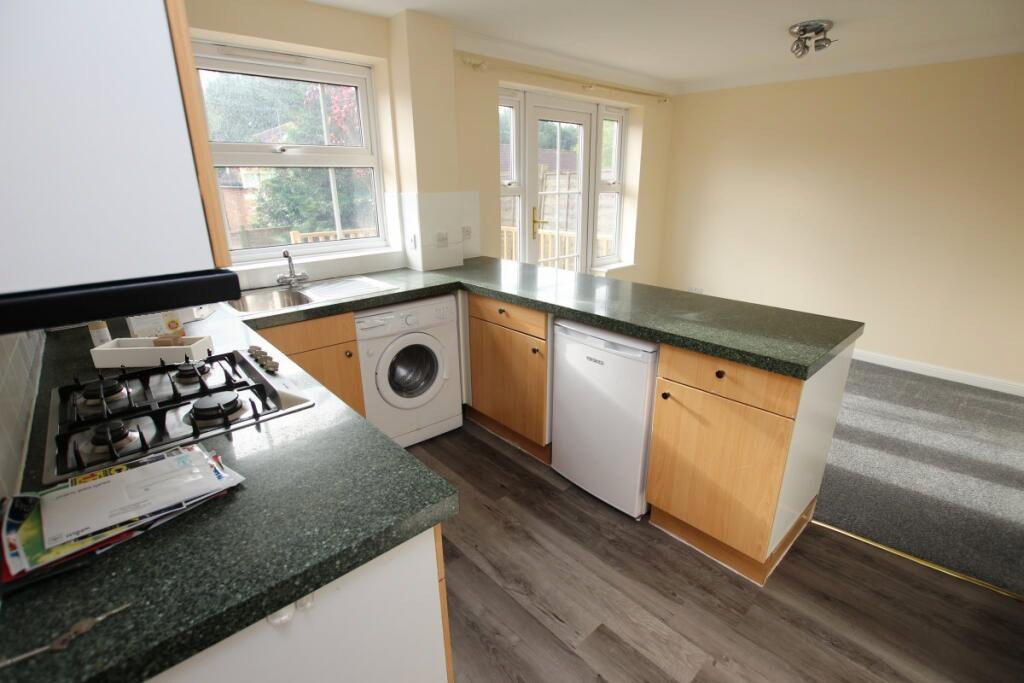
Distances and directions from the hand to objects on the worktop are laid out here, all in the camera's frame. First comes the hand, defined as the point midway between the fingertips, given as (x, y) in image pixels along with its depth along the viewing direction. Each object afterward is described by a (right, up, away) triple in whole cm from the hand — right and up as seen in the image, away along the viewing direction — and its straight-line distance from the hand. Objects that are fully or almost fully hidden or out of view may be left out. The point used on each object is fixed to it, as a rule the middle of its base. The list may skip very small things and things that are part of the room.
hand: (79, 202), depth 137 cm
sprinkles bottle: (-1, -45, +10) cm, 46 cm away
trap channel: (+19, -46, +5) cm, 50 cm away
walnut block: (+24, -43, +4) cm, 50 cm away
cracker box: (+6, -40, +23) cm, 47 cm away
